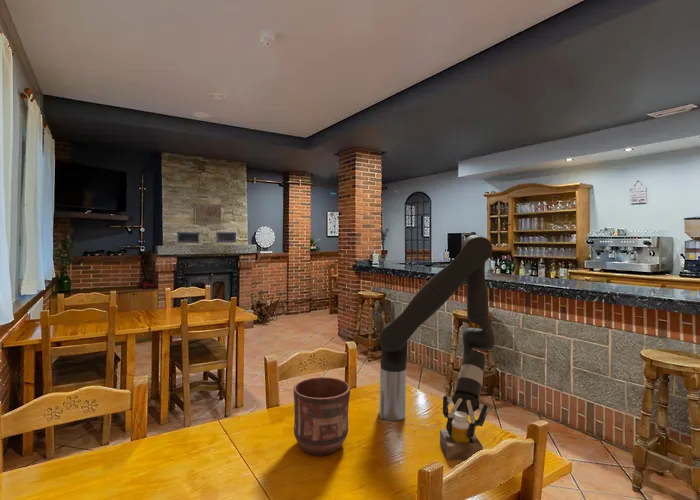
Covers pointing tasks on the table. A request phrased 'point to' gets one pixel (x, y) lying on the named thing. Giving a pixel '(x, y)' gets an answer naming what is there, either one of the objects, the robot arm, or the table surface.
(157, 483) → the table surface
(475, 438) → the collar block
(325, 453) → the pottery
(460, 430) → the supplement bottle
